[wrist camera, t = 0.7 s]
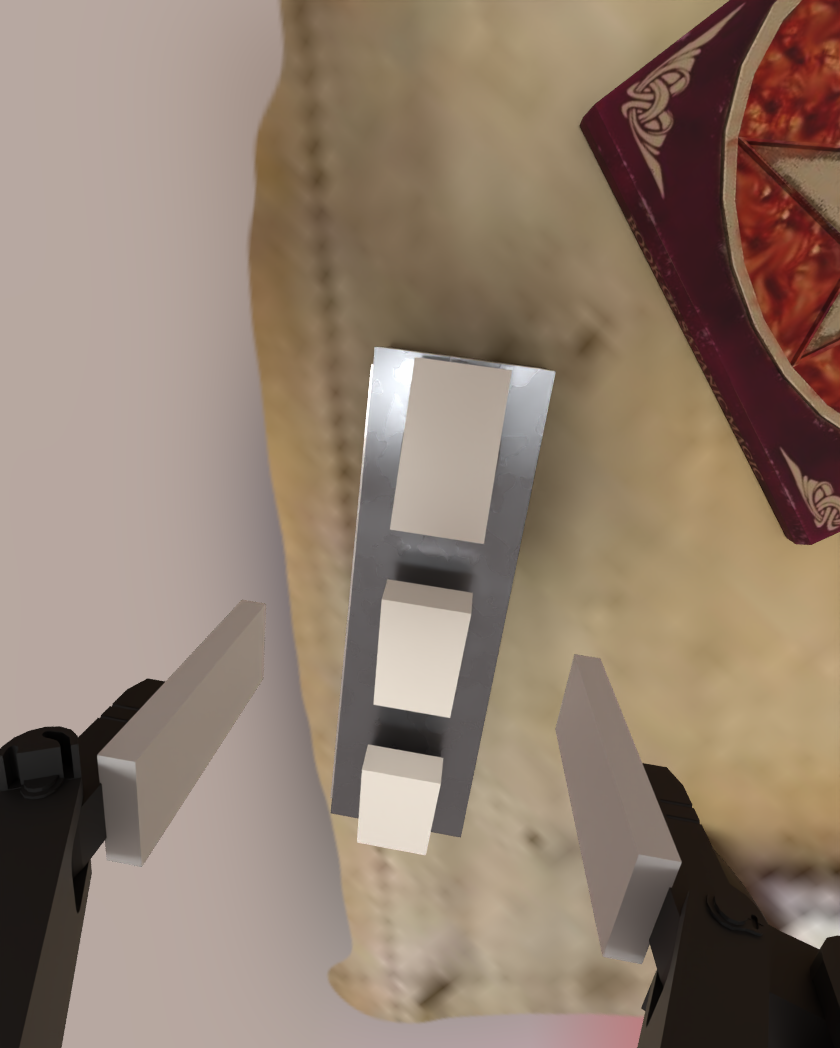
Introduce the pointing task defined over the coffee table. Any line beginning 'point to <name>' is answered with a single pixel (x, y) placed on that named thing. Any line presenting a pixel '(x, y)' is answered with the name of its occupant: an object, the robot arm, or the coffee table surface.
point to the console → (431, 584)
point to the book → (747, 228)
